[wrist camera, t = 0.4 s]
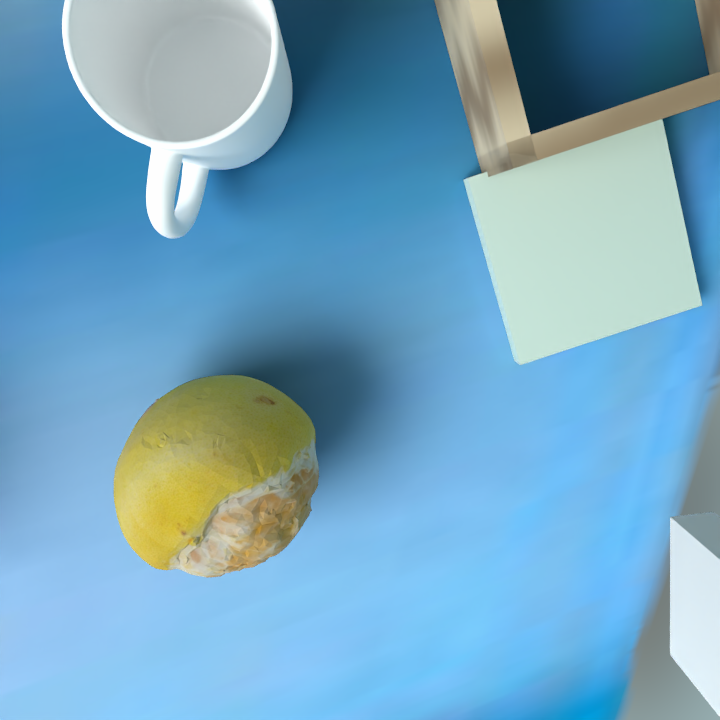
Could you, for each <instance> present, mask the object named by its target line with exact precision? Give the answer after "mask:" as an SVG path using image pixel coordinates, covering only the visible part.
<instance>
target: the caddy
mask: <svg viewBox="0 0 720 720" xmlns="http://www.w3.org/2000/svg"><path fill="white" fill-rule="evenodd" d="M434 1H435V5H436V9H437V12H438V16H439V19H440V23H441V27H442V30H443V34H444V38H445V41H446V45H447V48H448V52H449V56H450V59H451V63H452V67H453V70H454V74H455V77H456V81H457V85H458V88H459V92H460V96H461V99H462V103H463V107H464V110H465V114H466V117H467V121H468V125H469V128H470V132H471V136H472V139H473V143H474V146H475V150H476V154H477V157H478V161H479V165H480V168H481V172H482V173H484V172H487V173H488V177H490V176H493V175H496V174H499V173H502V172H505V171H508V170H511V169H514V168H517V167H520V166H523V165H526V164H529V163H532V162H535V161H538V160H541V159H544V158H547V157H550V156H553V155H556V154H559V153H562V152H565V151H568V150H571V149H574V148H577V147H580V146H583V145H586V144H589V143H592V142H595V141H598V140H601V139H604V138H607V137H609V136H612V135H615V134H618V133H621V132H624V131H627V130H630V129H633V128H636V127H639V126H642V125H645V124H648V123H651V122H654V121H657V120H660V119H663V118H666V117H669V116H672V115H675V114H678V113H681V112H684V111H687V110H690V109H693V108H696V107H699V106H702V105H705V104H708V103H711V102H714V101H717V100H720V0H695V3H696V8H697V14H698V19H699V24H700V29H701V34H702V39H703V44H704V49H705V54H706V59H707V64H708V69H709V75H708V76H705V77H702V78H699V79H696V80H693V81H690V82H687V83H684V84H681V85H678V86H675V87H672V88H669V89H666V90H663V91H660V92H657V93H654V94H651V95H648V96H645V97H642V98H639V99H636V100H633V101H630V102H627V103H624V104H621V105H618V106H615V107H613V108H610V109H607V110H604V111H601V112H598V113H595V114H592V115H589V116H586V117H583V118H580V119H577V120H574V121H571V122H568V123H565V124H562V125H559V126H556V127H553V128H550V129H547V130H544V131H541V132H538V133H535V134H532V135H531V133H530V130H529V126H528V122H527V118H526V114H525V110H524V106H523V102H522V98H521V95H520V91H519V87H518V83H517V79H516V75H515V71H514V67H513V63H512V59H511V56H510V52H509V48H508V44H507V40H506V36H505V32H504V28H503V24H502V21H501V17H500V13H499V9H498V5H497V1H496V0H434Z"/></svg>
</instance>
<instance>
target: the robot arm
mask: <svg viewBox="0 0 720 720" xmlns="http://www.w3.org/2000/svg"><path fill="white" fill-rule="evenodd" d="M670 655H671V656H672V657H673V658H674V660H675V661H676V662H677V664H678V665H679V666H680V667H681V669H682V670H683V671H684V672H685V674H686V675H687V676H688V678H689V679H690V680H691V681H692V683H693V684H694V685H695V686H696V688H697V689H698V690H699V691H700V693H701V694H702V695H703V696H704V698H705V699H706V700H707V702H708V703H709V704H710V705H711V707H712V708H713V709H714V710H715V711H716V713H717V714H718V715H719V717H720V517H719V516H718V515H717V514H715V513H714V512H708V513H700V514H691V515H683V516H675V517H670Z"/></svg>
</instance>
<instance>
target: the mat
mask: <svg viewBox="0 0 720 720" xmlns="http://www.w3.org/2000/svg"><path fill="white" fill-rule="evenodd" d="M464 184H465V187H466V191H467V194H468V198H469V201H470V205H471V209H472V212H473V216H474V219H475V223H476V226H477V230H478V233H479V237H480V240H481V244H482V248H483V251H484V255H485V258H486V262H487V265H488V269H489V272H490V276H491V279H492V283H493V287H494V290H495V294H496V297H497V301H498V304H499V308H500V311H501V315H502V318H503V322H504V326H505V329H506V333H507V336H508V340H509V343H510V347H511V350H512V354H513V357H514V361H515V362H517V363H518V364H520V365H522V364H525V363H528V362H531V361H534V360H537V359H540V358H543V357H546V356H549V355H552V354H555V353H558V352H561V351H564V350H567V349H570V348H573V347H576V346H579V345H583V344H586V343H589V342H592V341H595V340H598V339H601V338H604V337H607V336H610V335H613V334H616V333H619V332H622V331H625V330H628V329H631V328H634V327H637V326H640V325H643V324H647V323H650V322H653V321H656V320H659V319H662V318H665V317H668V316H671V315H674V314H677V313H680V312H683V311H686V310H689V309H692V308H695V307H698V306H701V305H702V302H701V297H700V292H699V288H698V283H697V278H696V274H695V269H694V264H693V260H692V255H691V250H690V246H689V241H688V236H687V232H686V227H685V222H684V218H683V213H682V208H681V204H680V199H679V194H678V190H677V185H676V180H675V176H674V171H673V166H672V162H671V157H670V152H669V148H668V143H667V138H666V134H665V129H664V124H663V120H662V119H660V120H657V121H654V122H651V123H648V124H645V125H642V126H639V127H636V128H633V129H630V130H627V131H624V132H621V133H618V134H615V135H612V136H609V137H607V138H604V139H601V140H598V141H595V142H592V143H589V144H586V145H583V146H580V147H577V148H574V149H571V150H568V151H565V152H562V153H559V154H556V155H553V156H550V157H547V158H544V159H541V160H538V161H535V162H532V163H529V164H526V165H523V166H520V167H517V168H514V169H511V170H508V171H505V172H502V173H499V174H496V175H493V176H490V177H488V173H487V172H484V173H481V174H478V175H475V176H472V177H469V178H467V179H464Z"/></svg>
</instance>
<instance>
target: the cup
mask: <svg viewBox="0 0 720 720" xmlns="http://www.w3.org/2000/svg"><path fill="white" fill-rule="evenodd" d="M62 31H63V42H64V49H65V53H66V58H67V61H68V64H69V67H70V70H71V73H72V75H73V77H74V80H75V82H76V83H77V85H78V87H79V89H80V91H81V92H82V94H83V96H84V97H85V99H86V100H87V101H88V103H89V104H90V105H91V106H92V108H93V109H94V110H95V111H96V112H97V113H98V114H99V115H100V116H101V117H102V118H103V119H104V120H105V121H106V122H107V123H108V124H110V125H111V126H112V127H114V128H115V129H116V130H118V131H120V132H121V133H123V134H124V135H126V136H128V137H130V138H132V139H134V140H136V141H138V142H141V143H143V144H145V145H147V146H149V147H151V148H152V150H151V156H150V163H149V170H148V178H147V190H146V204H147V211H148V215H149V218H150V221H151V223H152V225H153V227H154V228H155V229H156V230H157V231H158V232H159V233H160V234H161V235H163V236H165V237H168V238H179V237H181V236H184V235H185V234H186V233H187V232H188V231H189V230H190V229H191V227H192V226H193V224H194V222H195V220H196V218H197V215H198V212H199V209H200V206H201V202H202V199H203V195H204V190H205V186H206V181H207V177H208V172H209V170H227V169H234V168H238V167H241V166H244V165H247V164H249V163H251V162H253V161H255V160H256V159H258V158H259V157H261V156H262V155H263V154H265V153H266V152H267V151H268V150H269V149H270V148H271V147H272V146H273V145H274V144H275V142H276V141H277V140H278V138H279V137H280V135H281V133H282V132H283V130H284V128H285V125H286V123H287V121H288V118H289V114H290V110H291V105H292V93H293V90H292V77H291V71H290V67H289V63H288V59H287V55H286V51H285V47H284V43H283V39H282V35H281V31H280V27H279V23H278V19H277V15H276V11H275V7H274V4H273V1H272V0H65V3H64V9H63V20H62ZM182 162H183V171H182V180H181V187H180V193H179V198H178V202H177V206H176V209H175V211H174V200H175V193H176V187H177V182H178V177H179V173H180V168H181V163H182Z"/></svg>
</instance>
